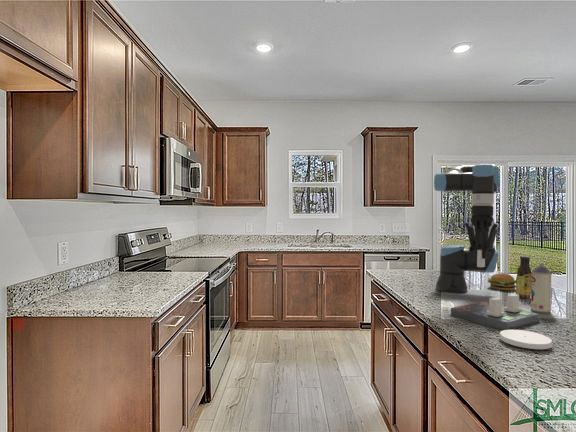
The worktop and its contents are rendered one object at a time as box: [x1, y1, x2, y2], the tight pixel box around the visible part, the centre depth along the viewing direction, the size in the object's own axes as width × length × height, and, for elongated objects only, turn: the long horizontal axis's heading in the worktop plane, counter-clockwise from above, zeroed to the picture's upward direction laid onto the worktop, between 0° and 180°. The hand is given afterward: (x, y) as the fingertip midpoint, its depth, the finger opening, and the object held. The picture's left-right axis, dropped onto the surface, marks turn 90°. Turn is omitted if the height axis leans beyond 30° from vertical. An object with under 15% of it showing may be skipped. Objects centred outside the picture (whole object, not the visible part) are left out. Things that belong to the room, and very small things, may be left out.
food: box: [487, 273, 517, 291], centre depth 207 cm, size 14×14×8 cm
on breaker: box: [504, 293, 522, 313], centre depth 148 cm, size 4×5×6 cm
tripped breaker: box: [486, 296, 505, 317], centre depth 142 cm, size 4×5×6 cm
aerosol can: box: [530, 262, 552, 315], centre depth 160 cm, size 7×7×20 cm
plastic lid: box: [499, 329, 553, 350], centre depth 121 cm, size 14×14×2 cm
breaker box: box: [450, 300, 540, 331], centre depth 149 cm, size 22×22×3 cm
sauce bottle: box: [515, 255, 532, 299], centre depth 186 cm, size 6×6×20 cm
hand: (480, 266), depth 147 cm, fingers closed
